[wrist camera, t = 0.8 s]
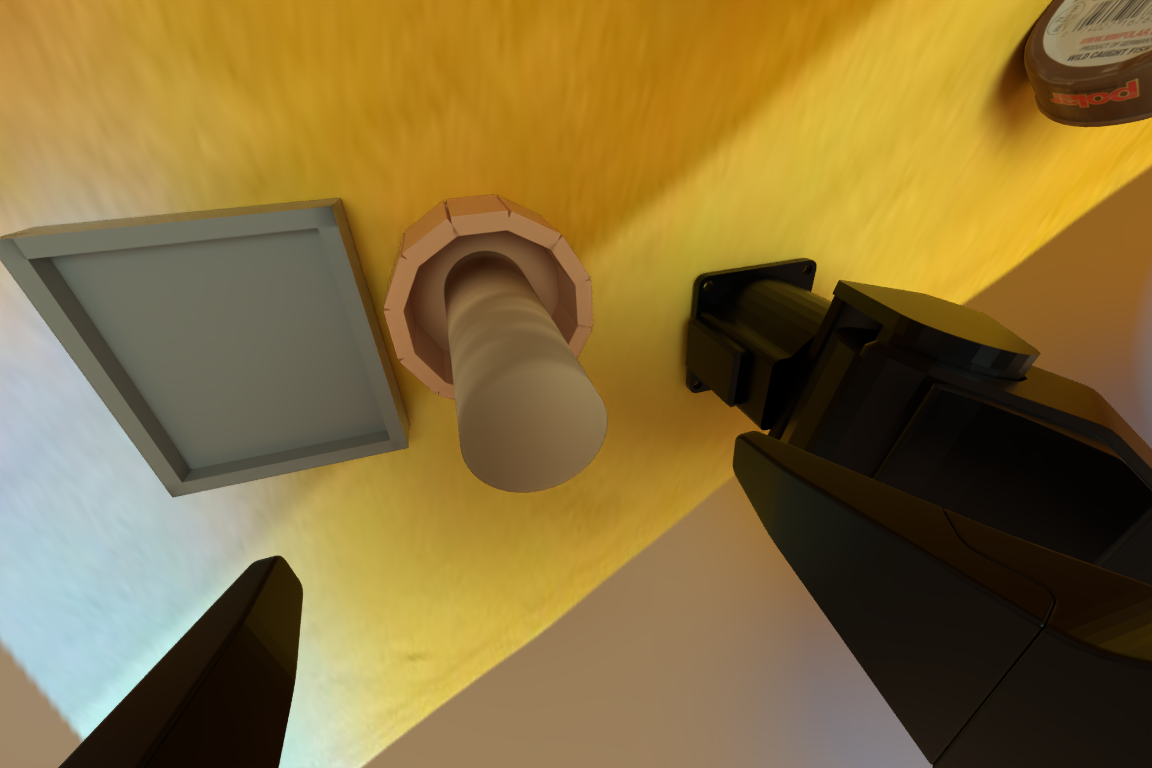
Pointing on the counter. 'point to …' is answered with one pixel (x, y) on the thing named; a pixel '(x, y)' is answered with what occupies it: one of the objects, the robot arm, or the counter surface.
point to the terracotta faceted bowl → (454, 235)
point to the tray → (221, 337)
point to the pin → (516, 381)
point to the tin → (1092, 62)
